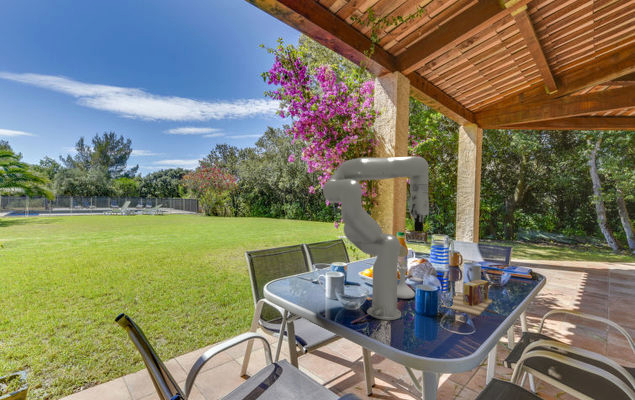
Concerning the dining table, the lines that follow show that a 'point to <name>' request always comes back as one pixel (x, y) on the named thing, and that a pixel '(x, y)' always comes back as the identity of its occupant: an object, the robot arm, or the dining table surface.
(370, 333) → the dining table surface
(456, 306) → the striped wooden board
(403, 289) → the flower in vase
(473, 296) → the candy box
